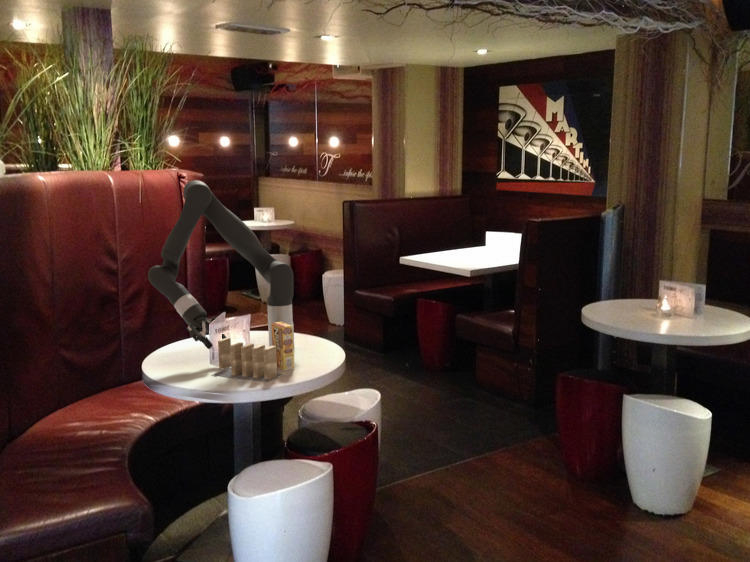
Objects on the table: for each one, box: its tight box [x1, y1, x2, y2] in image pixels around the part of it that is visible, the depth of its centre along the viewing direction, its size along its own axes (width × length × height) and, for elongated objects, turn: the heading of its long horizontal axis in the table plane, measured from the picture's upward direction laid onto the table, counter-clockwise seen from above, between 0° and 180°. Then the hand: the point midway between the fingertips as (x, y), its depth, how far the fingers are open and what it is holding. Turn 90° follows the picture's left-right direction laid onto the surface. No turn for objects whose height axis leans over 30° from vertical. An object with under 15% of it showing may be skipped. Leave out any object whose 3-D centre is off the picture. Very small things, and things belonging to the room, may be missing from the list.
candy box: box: [271, 322, 295, 371], centre depth 246 cm, size 9×4×15 cm, turn 33°
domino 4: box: [252, 344, 266, 378], centre depth 235 cm, size 2×5×10 cm, turn 156°
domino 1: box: [217, 337, 232, 370], centre depth 248 cm, size 2×5×10 cm, turn 156°
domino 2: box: [230, 342, 244, 376], centre depth 238 cm, size 2×5×10 cm, turn 156°
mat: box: [210, 367, 284, 383], centre depth 238 cm, size 10×22×1 cm, turn 66°
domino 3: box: [241, 343, 255, 377], centre depth 237 cm, size 2×5×10 cm, turn 156°
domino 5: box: [263, 346, 278, 380], centre depth 233 cm, size 2×5×10 cm, turn 156°
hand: (218, 344), depth 248 cm, fingers open, 8 cm apart
